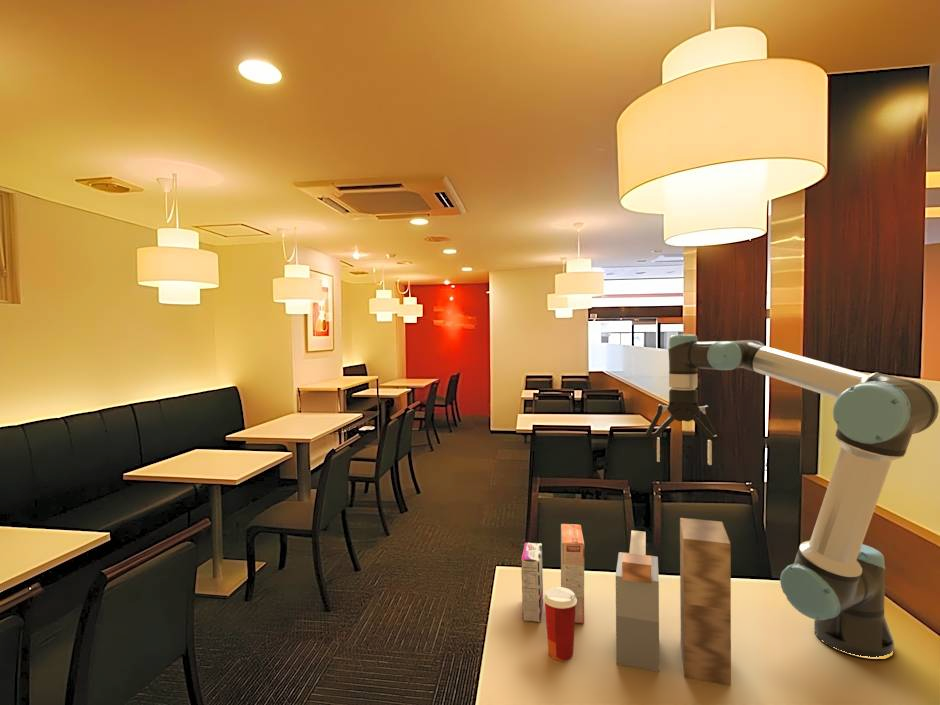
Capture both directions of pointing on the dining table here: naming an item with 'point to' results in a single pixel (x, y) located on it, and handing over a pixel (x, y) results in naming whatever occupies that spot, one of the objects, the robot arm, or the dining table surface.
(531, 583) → the candy bar box
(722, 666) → the tall tower
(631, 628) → the short tower
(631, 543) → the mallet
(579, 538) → the cracker box
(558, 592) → the paper cup
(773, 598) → the dining table surface
